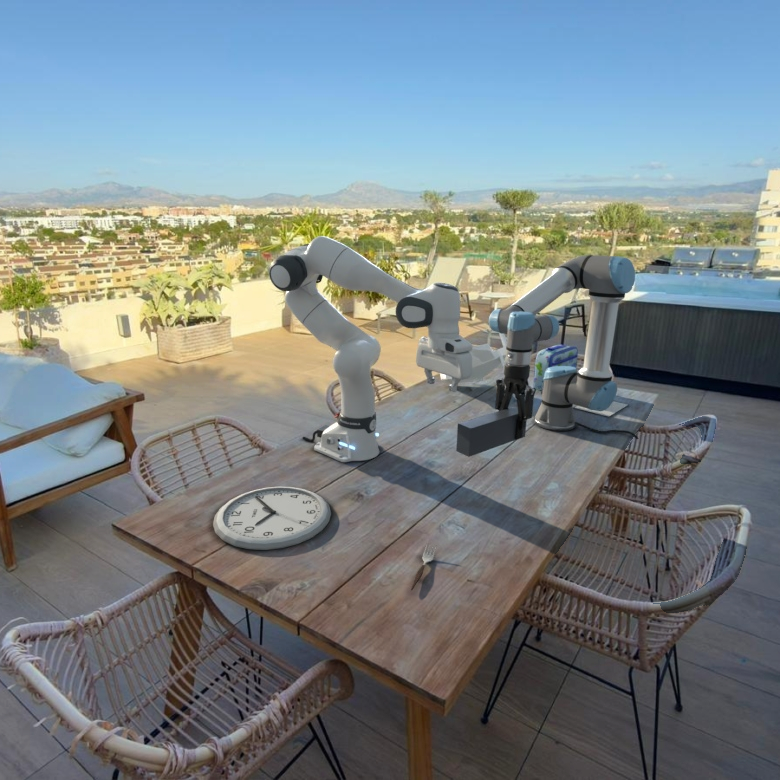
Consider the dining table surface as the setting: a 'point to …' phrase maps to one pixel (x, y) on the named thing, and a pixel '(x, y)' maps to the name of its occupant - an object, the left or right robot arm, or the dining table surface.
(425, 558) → the fork
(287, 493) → the wall clock
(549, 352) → the lunch box
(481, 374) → the white plastic object
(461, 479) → the dining table surface
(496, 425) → the bar
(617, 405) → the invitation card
